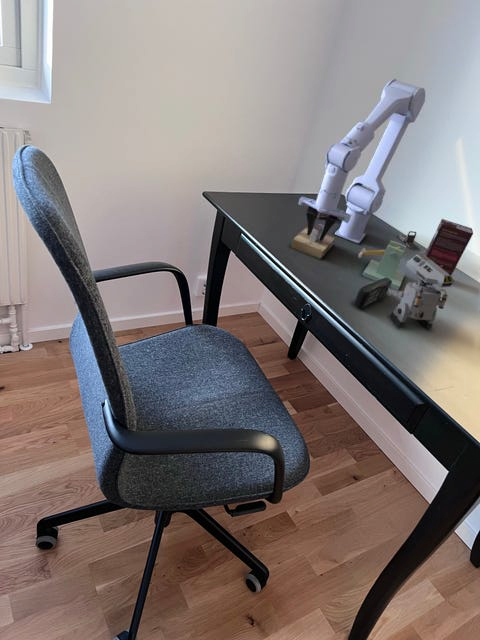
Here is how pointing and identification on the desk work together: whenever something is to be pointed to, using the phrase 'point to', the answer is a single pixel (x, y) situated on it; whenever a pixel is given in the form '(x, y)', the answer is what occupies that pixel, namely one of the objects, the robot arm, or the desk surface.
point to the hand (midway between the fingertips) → (315, 236)
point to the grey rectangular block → (316, 232)
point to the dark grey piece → (372, 292)
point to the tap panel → (312, 244)
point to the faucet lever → (373, 252)
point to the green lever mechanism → (387, 265)
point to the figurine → (421, 292)
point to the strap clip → (409, 240)
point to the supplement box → (448, 244)
